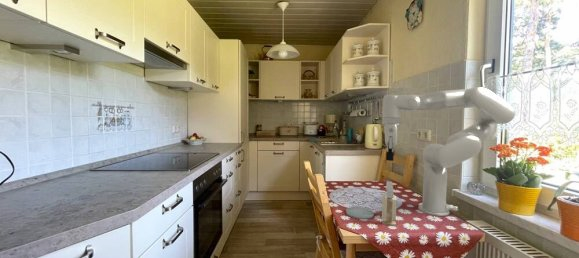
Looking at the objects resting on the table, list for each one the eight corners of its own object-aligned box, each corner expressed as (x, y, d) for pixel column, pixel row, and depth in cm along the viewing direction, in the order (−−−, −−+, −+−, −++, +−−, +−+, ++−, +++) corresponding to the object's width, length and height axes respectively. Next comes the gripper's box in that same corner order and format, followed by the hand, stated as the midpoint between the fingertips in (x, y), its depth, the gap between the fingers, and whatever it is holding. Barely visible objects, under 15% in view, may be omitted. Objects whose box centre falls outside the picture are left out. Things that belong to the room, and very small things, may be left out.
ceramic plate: (374, 211, 121) (374, 208, 121) (373, 220, 110) (373, 218, 110) (347, 207, 125) (347, 205, 125) (344, 216, 114) (344, 214, 114)
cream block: (395, 216, 115) (395, 196, 115) (395, 221, 110) (396, 200, 110) (381, 214, 117) (382, 194, 117) (381, 219, 112) (382, 198, 112)
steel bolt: (391, 188, 120) (392, 181, 120) (393, 198, 105) (393, 190, 105) (386, 187, 121) (386, 181, 121) (386, 197, 106) (387, 190, 106)
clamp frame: (393, 211, 121) (394, 189, 120) (395, 226, 105) (396, 200, 104) (382, 210, 123) (383, 188, 122) (382, 224, 107) (383, 198, 106)
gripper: (400, 122, 116) (399, 163, 116) (398, 121, 130) (397, 158, 131) (382, 121, 118) (381, 162, 119) (382, 121, 132) (381, 157, 133)
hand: (389, 160), depth 125 cm, fingers closed
